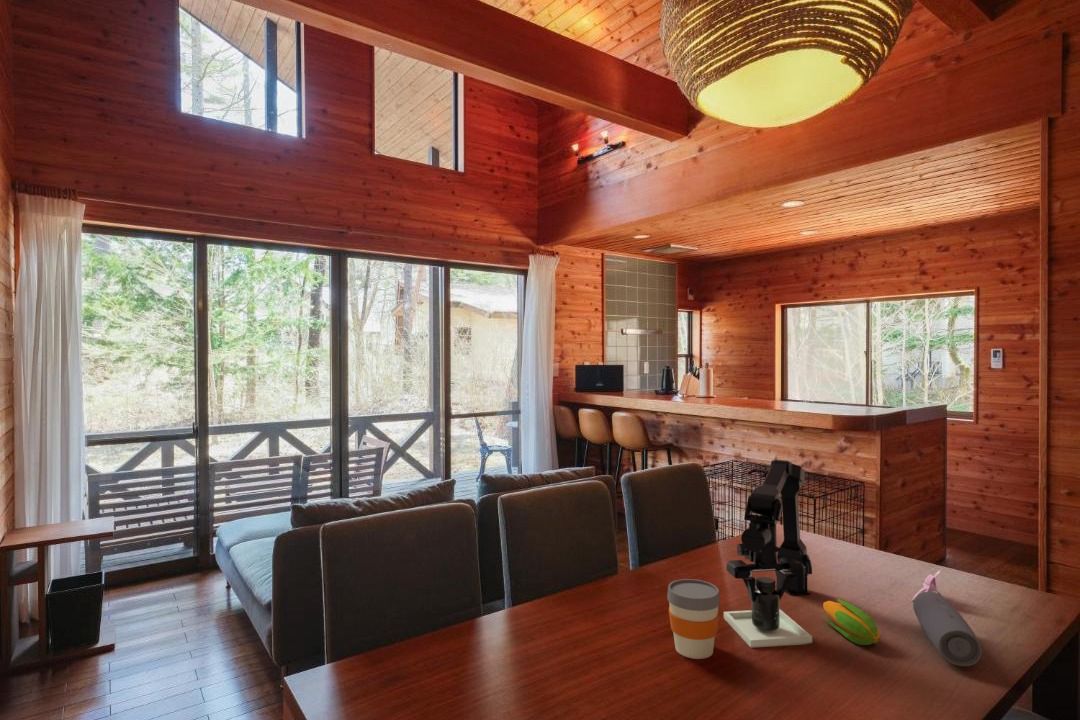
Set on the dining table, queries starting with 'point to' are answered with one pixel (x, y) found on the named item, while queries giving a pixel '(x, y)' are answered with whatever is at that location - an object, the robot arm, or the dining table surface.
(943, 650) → the bluetooth speaker
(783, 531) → the robot arm
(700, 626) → the reusable coffee cup
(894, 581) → the dining table surface
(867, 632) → the corn
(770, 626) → the supplement bottle
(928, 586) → the lily
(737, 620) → the tray
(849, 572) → the dining table surface
